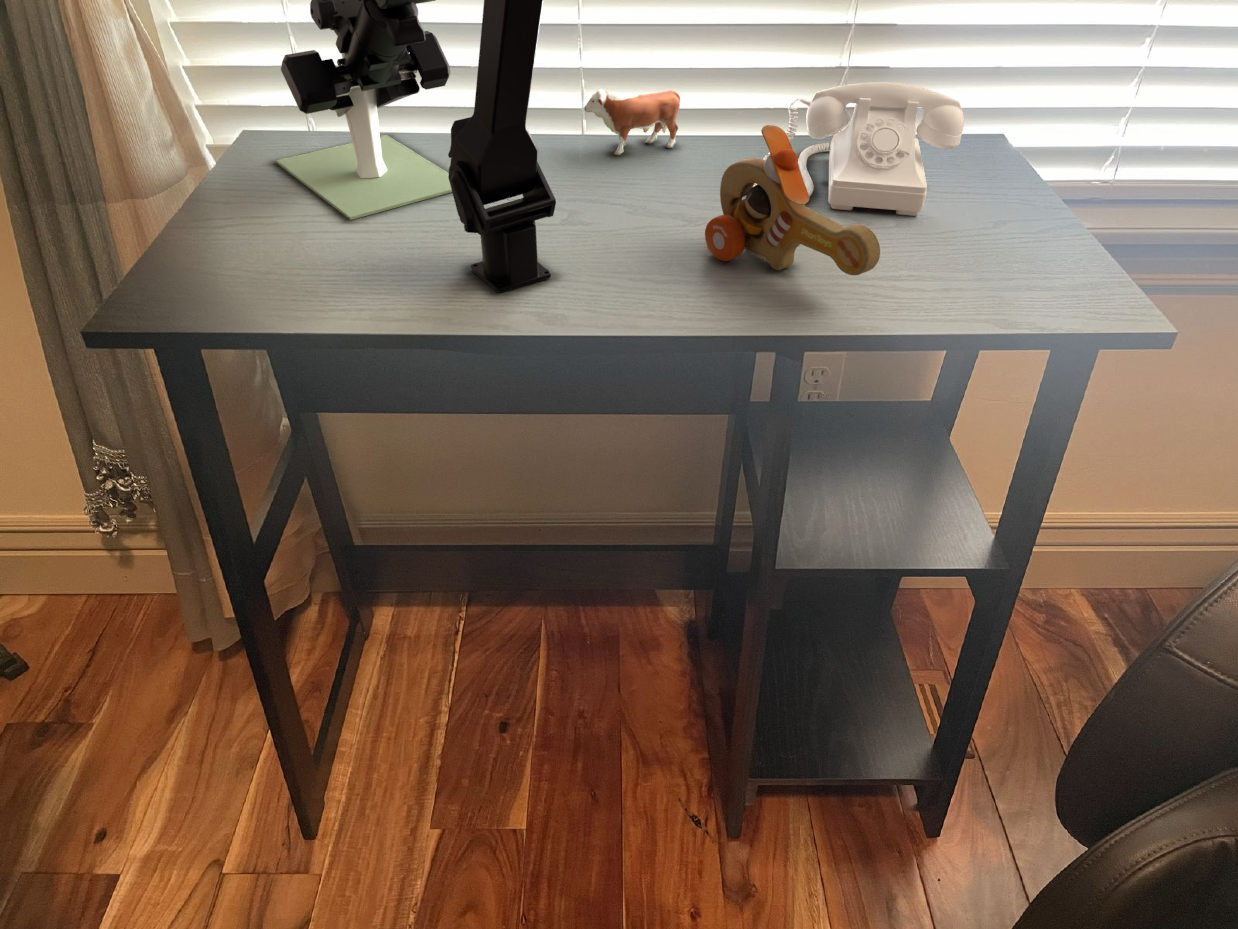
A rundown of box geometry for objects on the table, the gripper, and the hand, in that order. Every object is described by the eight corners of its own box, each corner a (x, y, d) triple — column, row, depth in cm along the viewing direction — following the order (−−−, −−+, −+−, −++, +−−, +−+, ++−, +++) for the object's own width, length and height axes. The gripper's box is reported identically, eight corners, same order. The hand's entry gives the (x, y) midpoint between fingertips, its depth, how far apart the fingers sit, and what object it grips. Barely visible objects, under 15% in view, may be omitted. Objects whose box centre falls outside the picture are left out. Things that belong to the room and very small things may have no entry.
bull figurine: (582, 147, 128) (581, 86, 123) (674, 138, 131) (676, 78, 126) (591, 158, 125) (590, 96, 119) (684, 149, 128) (688, 87, 123)
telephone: (745, 203, 114) (755, 99, 106) (756, 143, 130) (766, 48, 122) (955, 221, 110) (983, 115, 102) (940, 157, 126) (963, 61, 118)
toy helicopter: (746, 229, 108) (759, 109, 99) (890, 298, 96) (919, 168, 87) (695, 249, 104) (703, 125, 95) (838, 324, 92) (863, 190, 83)
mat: (468, 187, 117) (468, 184, 116) (350, 220, 109) (350, 217, 109) (386, 137, 130) (386, 134, 130) (276, 163, 122) (275, 160, 122)
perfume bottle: (361, 164, 121) (338, 42, 112) (393, 166, 120) (372, 44, 111) (346, 178, 118) (320, 53, 108) (379, 180, 117) (355, 55, 107)
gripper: (426, -45, 106) (396, 38, 120) (266, -24, 97) (254, 62, 111) (468, 44, 106) (433, 116, 120) (312, 72, 97) (293, 147, 111)
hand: (355, 109), depth 115 cm, fingers closed on perfume bottle, 4 cm apart
